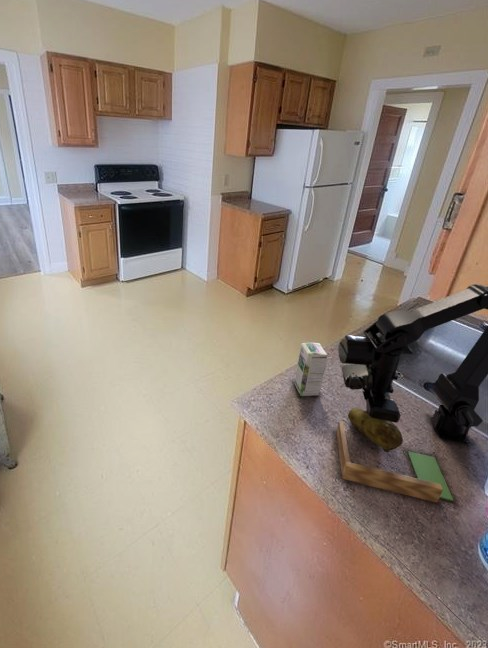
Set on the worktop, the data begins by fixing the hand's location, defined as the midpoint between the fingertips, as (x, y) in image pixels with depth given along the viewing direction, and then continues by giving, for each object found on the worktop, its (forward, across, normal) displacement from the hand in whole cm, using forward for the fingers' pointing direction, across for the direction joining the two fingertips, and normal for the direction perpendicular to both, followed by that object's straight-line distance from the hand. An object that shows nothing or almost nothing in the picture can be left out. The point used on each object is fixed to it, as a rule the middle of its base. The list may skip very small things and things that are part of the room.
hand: (368, 412), depth 83 cm
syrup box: (+4, -8, -15) cm, 17 cm away
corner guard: (+3, +12, +1) cm, 13 cm away
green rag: (+3, +12, +11) cm, 16 cm away
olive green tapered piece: (+3, +5, 0) cm, 6 cm away
